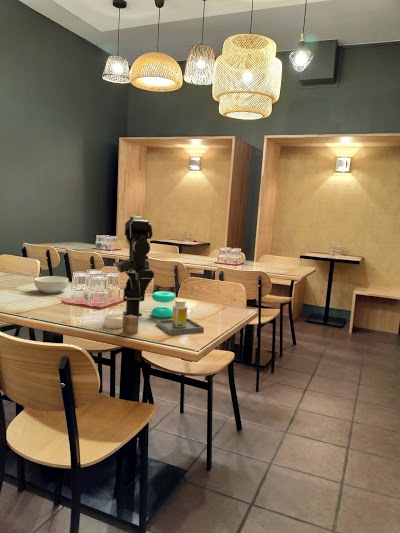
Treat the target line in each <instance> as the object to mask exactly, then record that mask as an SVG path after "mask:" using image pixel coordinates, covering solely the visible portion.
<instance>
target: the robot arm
mask: <svg viewBox="0 0 400 533" xmlns="http://www.w3.org/2000/svg"><path fill="white" fill-rule="evenodd" d="M123 234H124V237H125V242H126V243H127V245H128V246H129V247H128V249H129V251H128V254H129V255H128V259H125V260H121V261H119V262H116V263H115V266H116V268H117V272H119V273H120V274H121V273H124V274H125V275H127V277H128V279H127V280H126V282H125V286H123V293H122V300H123V302H125V311H123V314H124V316H127V315H134V316H137V317H139V316H142V315H143V314H142V313H141V312H140V302H144V301H145V299H146V298H145V296H146V291H147V288H148V287H149V285H150V283H151V281H152V280H153V279H154V278H155V272H154V271H153V270H151V269H149V266H147V260H148V259H149V256H148V254H149V253H150V251H151V245H150V243H149V242H148V240H149V239H150V240H151V239H152V238H153V236H154V235H153V226H152V224H151V223H150V221H149V220H144V219H143V216H141V215H130V217H129V220H127V221H126V222H125V223H124V232H123Z"/></svg>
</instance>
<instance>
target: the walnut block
mask: <svg viewBox="0 0 400 533" xmlns="http://www.w3.org/2000/svg"><path fill="white" fill-rule="evenodd" d="M121 329H122V333H125V334H127V335H134V334H138V332H139V316H134V315H123V328H121Z"/></svg>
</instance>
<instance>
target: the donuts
mask: <svg viewBox="0 0 400 533" xmlns="http://www.w3.org/2000/svg"><path fill="white" fill-rule="evenodd" d="M151 299H152V300H153V301H155V302H157V303H162V304H163V303H165V304H166V303H171V302H173V301H175V300H176V295H175V293H173V292H169V291H155V292H153V293H152V295H151ZM150 312H151V313H150V314H151V315H152V316H153V317H155V318H158V319H160V318H161V319H166V318H172V316H173V307H172V308H171V307H169V306H164V305H161V306H155V307H153V308H152V309H151V311H150Z"/></svg>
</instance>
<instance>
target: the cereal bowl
mask: <svg viewBox="0 0 400 533" xmlns="http://www.w3.org/2000/svg"><path fill="white" fill-rule="evenodd" d="M34 286H35V287H36V289H37V290H39V291H41V292H43V293H44V294H59V293H60V292H61V291H64V290H65V289H67V288H68V286H69V278H68V277H66V276H56V275H54V276H53V275H52V276H48V275H47V276H39V277H35V278H34ZM58 292H59V293H58Z"/></svg>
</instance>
